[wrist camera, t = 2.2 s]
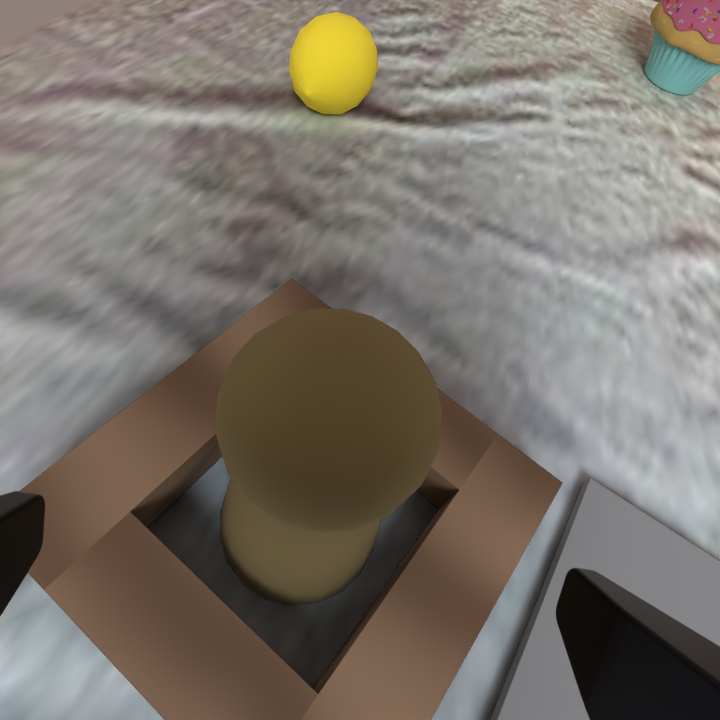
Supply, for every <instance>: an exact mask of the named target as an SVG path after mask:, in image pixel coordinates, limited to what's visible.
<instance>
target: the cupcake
mask: <svg viewBox="0 0 720 720" xmlns="http://www.w3.org/2000/svg"><path fill="white" fill-rule="evenodd" d="M650 18H651V23H652V25H653V27H654V29H655V34H654V39H653V44H652V47H651V51H650V54H649V57H648V60H647V63H646V66H645V70H644V71H645V74H646V76H647V78H648V79H649V80H650V81H651V82H652V83H654V84H655V85H656V86H658V87H659V88H661V89H663V90H665V91H668V92H670V93H673V94H678V95H690V94H692V93H694V92H695V91H696V90H697V89H698V88H700V87H701V86H702V85H703V84H704V83H706V82H707V81H708V80H709V79H711V78H712V77H713V76H714V75H716V74H717V73H718V72H720V0H661V1H660V2H659V3H658V4H657V5H656V7H655V8H654V9H653V11H652V13H651V15H650Z"/></svg>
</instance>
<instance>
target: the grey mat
mask: <svg viewBox="0 0 720 720" xmlns="http://www.w3.org/2000/svg"><path fill="white" fill-rule="evenodd" d="M572 568H583V569H590V570H594V571H596V572H598V573H600V574H601V575H603V576H605V577H606V578H608V579H610V580H611V581H613V582H615V583H616V584H618V585H619V586H621V587H623V588H624V589H626V590H628V591H629V592H631V593H633V594H634V595H636V596H638V597H639V598H641V599H643V600H644V601H646V602H648V603H649V604H651V605H652V606H654V607H656V608H657V609H659V610H661V611H662V612H664V613H666V614H667V615H669V616H671V617H672V618H674V619H676V620H677V621H679V622H681V623H682V624H684V625H685V626H687V627H689V628H690V629H692V630H694V631H695V632H697V633H699V634H700V635H702V636H704V637H705V638H707V639H709V640H710V641H712V642H714V643H715V644H717V645H719V646H720V561H718V560H717V559H715V558H714V557H712V556H711V555H709V554H708V553H706V552H704V551H703V550H701V549H700V548H698V547H697V546H695V545H694V544H692V543H690V542H689V541H687V540H686V539H684V538H683V537H681V536H680V535H678V534H677V533H675V532H673V531H672V530H670V529H669V528H667V527H666V526H664V525H663V524H661V523H659V522H658V521H656V520H655V519H653V518H652V517H650V516H649V515H647V514H645V513H644V512H642V511H641V510H639V509H638V508H636V507H635V506H633V505H631V504H630V503H628V502H627V501H625V500H624V499H622V498H621V497H619V496H618V495H616V494H614V493H613V492H611V491H610V490H608V489H607V488H605V487H604V486H602V485H600V484H599V483H597V482H596V481H594V480H593V479H591V478H590V479H588V480H587V481H585V482H583V484H582V487H581V489H580V492H579V495H578V497H577V500H576V502H575V505H574V507H573V510H572V512H571V515H570V517H569V520H568V522H567V525H566V528H565V530H564V533H563V535H562V538H561V540H560V543H559V545H558V548H557V550H556V553H555V556H554V558H553V561H552V563H551V566H550V568H549V571H548V573H547V576H546V578H545V581H544V584H543V586H542V589H541V591H540V594H539V596H538V599H537V601H536V604H535V606H534V609H533V611H532V614H531V617H530V619H529V622H528V624H527V627H526V629H525V632H524V634H523V637H522V639H521V642H520V645H519V647H518V650H517V652H516V655H515V657H514V660H513V662H512V665H511V667H510V670H509V672H508V675H507V678H506V680H505V683H504V685H503V688H502V690H501V693H500V695H499V698H498V700H497V703H496V706H495V708H494V711H493V713H492V716H491V718H490V720H590V719H589V716H588V714H587V711H586V709H585V706H584V703H583V700H582V698H581V695H580V692H579V689H578V686H577V683H576V680H575V677H574V673H573V670H572V667H571V664H570V661H569V658H568V655H567V652H566V649H565V646H564V643H563V640H562V636H561V633H560V630H559V627H558V624H557V620H556V606H557V602H558V599H559V596H560V593H561V590H562V586H563V583H564V580H565V577H566V574H567V572H568V571H569V570H570V569H572Z"/></svg>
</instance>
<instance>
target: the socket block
mask: <svg viewBox="0 0 720 720" xmlns="http://www.w3.org/2000/svg"><path fill="white" fill-rule="evenodd" d="M311 309H331V308H330V307H329V306H327V305H326V304H325V303H324V302H322V301H321V300H320V299H318V298H317V297H316V296H314V295H313V294H312V293H310V292H309V291H308V290H306V289H305V288H304V287H302V286H301V285H300V284H298V283H297V282H296V281H294V280H293V279H291V280H289V281H288V282H287V283H286V284H284V285H283V286H282V287H280V288H279V289H278V290H277V291H275V292H274V293H273V294H271V295H270V296H269V297H268V298H266V299H265V300H264V301H262V302H261V303H260V304H259V305H257V306H256V307H255V308H253V309H252V310H251V311H250V312H248V313H247V314H246V315H244V316H243V317H242V318H241V319H239V320H238V321H237V322H236V323H234V324H233V325H232V326H230V327H229V328H228V329H227V330H225V331H224V332H223V333H221V334H220V335H219V336H218V337H216V338H215V339H214V340H212V341H211V342H210V343H209V344H207V345H206V346H205V347H203V348H202V349H201V350H200V351H198V352H197V353H196V354H195V355H193V356H192V357H191V358H189V359H188V360H187V361H186V362H184V363H183V364H182V365H180V366H179V367H178V368H177V369H175V370H174V371H173V372H171V373H170V374H169V375H168V376H166V377H165V378H164V379H162V380H161V381H160V382H159V383H157V384H156V385H155V386H154V387H152V388H151V389H150V390H148V391H147V392H146V393H145V394H143V395H142V396H141V397H139V398H138V399H137V400H136V401H134V402H133V403H132V404H130V405H129V406H128V407H127V408H125V409H124V410H123V411H121V412H120V413H119V414H118V415H116V416H115V417H114V418H113V419H111V420H110V421H109V422H107V423H106V424H105V425H104V426H102V427H101V428H100V429H98V430H97V431H96V432H95V433H93V434H92V435H91V436H89V437H88V438H87V439H86V440H84V441H83V442H82V443H80V444H79V445H78V446H77V447H75V448H74V449H73V450H72V451H70V452H69V453H68V454H66V455H65V456H64V457H63V458H61V459H60V460H59V461H57V462H56V463H55V464H54V465H52V466H51V467H50V468H48V469H47V470H46V471H45V472H43V473H42V474H41V475H39V476H38V477H37V478H36V479H34V480H33V481H32V482H30V483H29V484H28V485H27V486H25V487H24V488H23V489H22V490H20V491H21V492H28V493H35V494H40V495H42V496H43V497H44V500H45V518H44V535H43V544H42V547H41V550H40V553H39V555H38V557H37V558H36V560H35V562H34V563H33V565H32V566H31V568H30V570H29V571H28V573H29V574H30V575H31V576H32V578H33V579H34V580H35V581H36V582H37V583H38V584H39V585H40V586H41V587H42V588H43V589H44V590H45V592H46V593H47V594H48V595H49V596H50V597H51V598H52V599H53V600H54V601H55V602H56V603H57V604H58V606H59V607H60V608H61V609H62V610H63V611H64V612H65V613H66V614H67V615H68V616H69V617H70V618H71V620H72V621H73V622H74V623H75V624H76V625H77V626H78V627H79V628H80V629H81V630H82V631H83V632H84V634H85V635H86V636H87V637H88V638H89V639H90V640H91V641H92V642H93V643H94V644H95V645H96V646H97V648H98V649H99V650H100V651H101V652H102V653H103V654H104V655H105V656H106V657H107V658H108V659H109V660H110V661H111V663H112V664H113V665H114V666H115V667H116V668H117V669H118V670H119V671H120V672H121V673H122V674H123V675H124V677H125V678H126V679H127V680H128V681H129V682H130V683H131V684H132V685H133V686H134V687H135V688H136V689H137V691H138V692H139V693H140V694H141V695H142V696H143V697H144V698H145V699H146V700H147V701H148V702H149V703H150V705H151V706H152V707H153V708H154V709H155V710H156V711H157V712H158V713H159V714H160V715H161V716H162V717H163V719H164V720H431V719H432V717H433V715H434V713H435V712H436V710H437V708H438V706H439V704H440V703H441V701H442V699H443V697H444V695H445V694H446V692H447V690H448V688H449V686H450V685H451V683H452V681H453V679H454V677H455V676H456V674H457V672H458V670H459V668H460V667H461V665H462V663H463V661H464V659H465V658H466V656H467V654H468V652H469V650H470V649H471V647H472V645H473V643H474V641H475V640H476V638H477V636H478V634H479V632H480V631H481V629H482V627H483V625H484V623H485V622H486V620H487V618H488V616H489V614H490V613H491V611H492V609H493V607H494V605H495V604H496V602H497V600H498V598H499V596H500V595H501V593H502V591H503V589H504V587H505V586H506V584H507V582H508V580H509V578H510V577H511V575H512V573H513V571H514V569H515V568H516V566H517V564H518V562H519V560H520V559H521V557H522V555H523V553H524V551H525V550H526V548H527V546H528V544H529V542H530V541H531V539H532V537H533V535H534V533H535V532H536V530H537V528H538V526H539V524H540V523H541V521H542V519H543V517H544V515H545V514H546V512H547V510H548V508H549V506H550V505H551V503H552V501H553V499H554V497H555V496H556V494H557V492H558V490H559V488H560V487H561V485H562V482H561V481H560V480H558V479H557V478H556V477H554V476H553V475H552V474H550V473H549V472H548V471H546V470H545V469H544V468H542V467H541V466H540V465H538V464H537V463H536V462H534V461H533V460H532V459H530V458H529V457H528V456H526V455H525V454H524V453H522V452H521V451H520V450H518V449H517V448H516V447H515V446H513V445H512V444H511V443H509V442H508V441H507V440H505V439H504V438H503V437H501V436H500V435H499V434H497V433H496V432H495V431H493V430H492V429H491V428H489V427H488V426H487V425H485V424H484V423H483V422H481V421H480V420H479V419H477V418H476V417H475V416H473V415H472V414H471V413H469V412H468V411H467V410H465V409H464V408H463V407H461V406H460V405H459V404H457V403H456V402H455V401H454V400H452V399H451V398H450V397H448V396H447V395H446V394H444V393H443V392H442V391H440V390H439V389H438V388H437V390H438V395H439V399H440V404H441V409H442V420H441V428H440V436H439V444H438V450H437V455H436V457H435V459H434V461H433V463H432V465H431V467H430V469H429V471H428V473H427V475H426V477H425V479H424V481H423V483H422V485H421V486H420V487H419V488H418V489H417V491H418V492H419V493H420V494H422V495H423V496H424V497H425V498H427V499H428V500H429V501H430V502H431V503H433V504H434V505H435V506H436V507H438V508H439V509H438V511H437V512H436V514H435V515H434V516H433V518H432V519H431V521H430V522H429V524H428V525H427V526H426V528H425V529H424V531H423V532H422V534H421V535H420V536H419V538H418V539H417V541H416V542H415V544H414V545H413V546H412V548H411V549H410V551H409V552H408V554H407V555H406V557H405V558H404V559H403V561H402V562H401V564H400V565H399V567H398V568H397V569H396V571H395V572H394V574H393V575H392V577H391V578H390V579H389V581H388V582H387V584H386V585H385V587H384V588H383V589H382V591H381V592H380V594H379V595H378V597H377V598H376V599H375V601H374V602H373V604H372V605H371V607H370V608H369V609H368V611H367V612H366V614H365V615H364V617H363V618H362V619H361V621H360V622H359V624H358V625H357V627H356V628H355V629H354V631H353V632H352V634H351V635H350V637H349V638H348V639H347V641H346V642H345V644H344V645H343V647H342V648H341V649H340V651H339V652H338V654H337V655H336V657H335V658H334V659H333V661H332V662H331V664H330V665H329V667H328V668H327V669H326V671H325V672H324V674H323V675H322V677H321V678H320V679H319V681H318V682H317V684H316V685H315V687H314V688H313V689H312V688H311V687H310V686H309V685H308V684H307V683H306V682H305V681H304V680H303V679H302V678H301V677H300V676H299V675H298V674H297V673H296V672H295V671H294V670H293V669H292V668H291V667H289V666H288V665H287V664H286V663H285V662H284V661H283V660H282V659H281V658H280V657H279V656H278V655H277V654H276V653H275V652H274V651H273V650H272V649H271V648H270V647H269V646H268V645H267V644H266V643H265V642H264V641H263V640H262V639H261V638H260V637H259V636H258V635H257V634H256V633H254V632H253V631H252V630H251V629H250V628H249V627H248V626H247V625H246V624H245V623H244V622H243V621H242V620H241V619H240V618H239V617H238V616H237V615H236V614H235V613H234V612H233V611H232V610H231V609H230V608H229V607H228V606H227V605H226V604H225V603H224V602H223V601H222V600H221V599H219V598H218V597H217V596H216V595H215V594H214V593H213V592H212V591H211V590H210V589H209V588H208V587H207V586H206V585H205V584H204V583H203V582H202V581H201V580H200V579H199V578H198V577H197V576H196V575H195V574H194V573H193V572H192V571H191V570H190V569H189V568H188V567H187V566H186V565H184V564H183V563H182V562H181V561H180V560H179V559H178V558H177V557H176V556H175V555H174V554H173V553H172V552H171V551H170V550H169V549H168V548H167V547H166V546H165V545H164V544H163V543H162V542H161V541H160V540H159V539H158V538H157V537H156V536H155V535H154V534H153V533H152V532H151V531H149V530H148V529H147V527H148V526H149V525H150V524H151V523H152V522H154V521H155V520H156V519H157V518H158V517H159V516H160V515H161V514H162V513H163V512H164V511H165V510H166V509H167V508H168V507H169V506H170V505H172V504H173V503H174V502H175V501H176V500H177V499H178V498H179V497H180V496H181V495H182V494H183V493H184V492H185V491H186V490H187V489H188V488H189V487H191V486H192V485H193V484H194V483H195V482H196V481H197V480H198V479H199V478H200V477H201V476H202V475H203V474H204V473H205V472H206V471H207V470H209V469H210V468H211V467H212V466H213V465H214V464H215V463H216V462H217V461H218V460H219V459H220V458H221V457H222V453H221V450H220V447H219V444H218V440H217V435H216V406H217V396H218V393H219V391H220V388H221V386H222V383H223V381H224V379H225V376H226V374H227V371H228V369H229V366H230V364H231V362H232V359H233V357H234V356H235V355H236V354H237V353H238V352H239V351H240V349H241V348H242V347H243V346H244V345H245V344H246V343H247V342H248V340H249V339H250V338H251V337H252V336H253V335H254V334H255V333H257V332H259V331H261V330H262V329H264V328H266V327H267V326H269V325H271V324H272V323H274V322H276V321H278V320H279V319H281V318H283V317H285V316H287V315H291V314H295V313H299V312H303V311H307V310H311Z"/></svg>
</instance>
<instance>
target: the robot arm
mask: <svg viewBox="0 0 720 720" xmlns="http://www.w3.org/2000/svg"><path fill="white" fill-rule="evenodd" d="M44 518H45V500H44V497H43V496H42V495H40V494H35V493H28V492H21V491H15V492H11V493H8V494H4V495H1V496H0V616H1V614H2V613H3V611H4V610H5V608H6V606H7V605H8V603H9V602H10V600H11V598H12V597H13V595H14V594H15V592H16V590H17V589H18V587H19V586H20V584H21V582H22V581H23V579H24V578H25V576H26V574H27V573H28V571H29V570H30V568H31V566H32V565H33V563H34V562H35V560H36V558H37V557H38V555H39V553H40V550H41V547H42V544H43V535H44ZM556 620H557V624H558V627H559V630H560V633H561V636H562V640H563V643H564V646H565V649H566V652H567V655H568V658H569V661H570V664H571V667H572V670H573V673H574V677H575V680H576V683H577V686H578V689H579V692H580V695H581V698H582V700H583V703H584V706H585V709H586V711H587V714H588V716H589V719H590V720H720V646H719V645H717V644H715V643H714V642H712V641H710V640H709V639H707V638H705V637H704V636H702V635H700V634H699V633H697V632H695V631H694V630H692V629H690V628H689V627H687V626H685V625H684V624H682V623H681V622H679V621H677V620H676V619H674V618H672V617H671V616H669V615H667V614H666V613H664V612H662V611H661V610H659V609H657V608H656V607H654V606H652V605H651V604H649V603H648V602H646V601H644V600H643V599H641V598H639V597H638V596H636V595H634V594H633V593H631V592H629V591H628V590H626V589H624V588H623V587H621V586H619V585H618V584H616V583H615V582H613V581H611V580H610V579H608V578H606V577H605V576H603V575H601V574H600V573H598V572H596V571H594V570H590V569H583V568H572V569H570V570H569V571H568V572H567V574H566V577H565V580H564V583H563V586H562V590H561V593H560V596H559V599H558V602H557V606H556Z"/></svg>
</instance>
